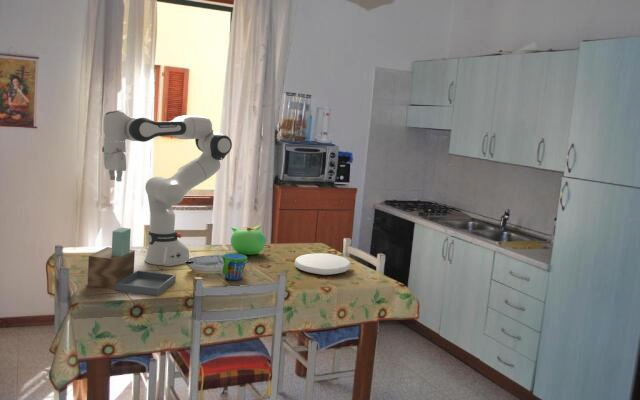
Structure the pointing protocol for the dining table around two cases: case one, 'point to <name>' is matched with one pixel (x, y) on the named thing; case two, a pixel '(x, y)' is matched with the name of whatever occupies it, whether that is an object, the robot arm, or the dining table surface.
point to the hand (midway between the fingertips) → (115, 180)
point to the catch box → (146, 283)
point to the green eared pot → (248, 240)
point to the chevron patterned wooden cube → (109, 268)
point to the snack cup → (234, 265)
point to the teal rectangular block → (121, 242)
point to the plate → (322, 263)
